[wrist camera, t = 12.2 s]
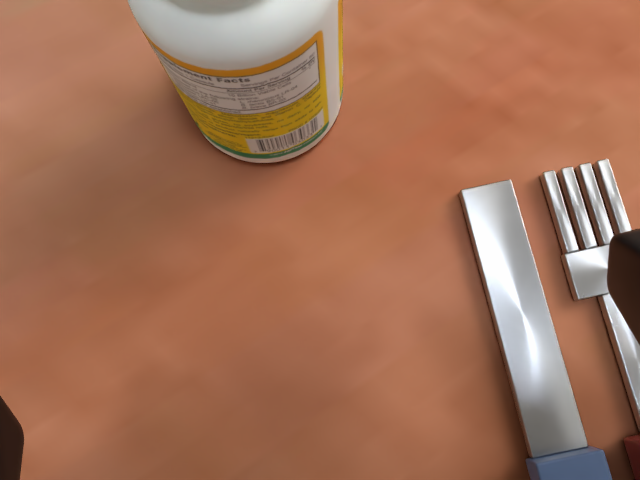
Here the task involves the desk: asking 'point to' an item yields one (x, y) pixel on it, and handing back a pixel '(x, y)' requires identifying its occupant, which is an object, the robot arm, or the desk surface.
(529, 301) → the knife
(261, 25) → the supplement bottle
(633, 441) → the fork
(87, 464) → the desk surface
